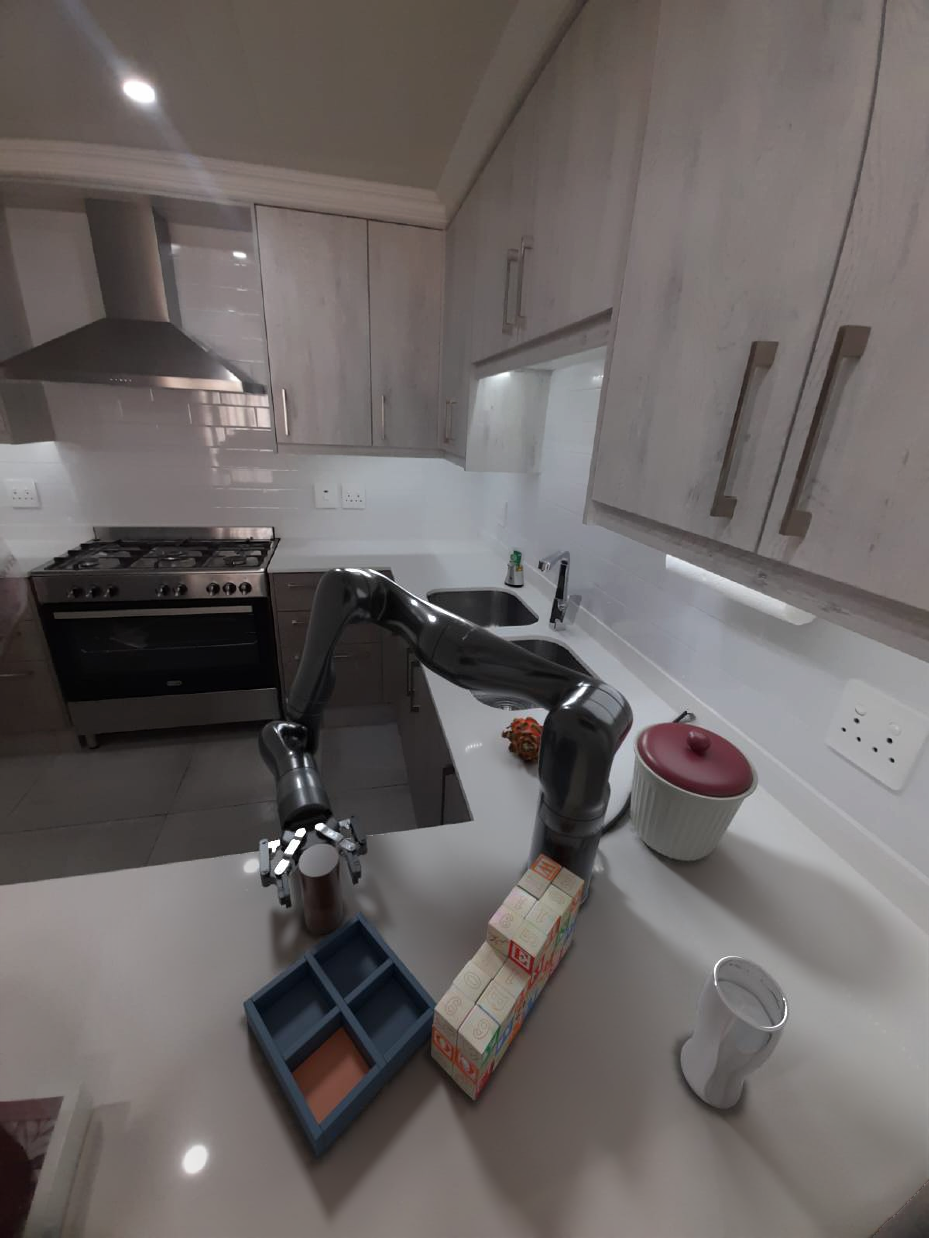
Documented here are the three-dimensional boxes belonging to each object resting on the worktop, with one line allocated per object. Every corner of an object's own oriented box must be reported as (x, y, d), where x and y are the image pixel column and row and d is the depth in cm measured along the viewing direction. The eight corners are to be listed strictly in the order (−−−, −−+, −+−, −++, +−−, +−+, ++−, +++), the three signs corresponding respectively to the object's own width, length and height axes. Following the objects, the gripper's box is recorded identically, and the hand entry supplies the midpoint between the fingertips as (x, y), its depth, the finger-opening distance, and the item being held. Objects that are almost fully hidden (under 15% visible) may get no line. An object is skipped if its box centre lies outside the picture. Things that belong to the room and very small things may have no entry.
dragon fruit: (530, 781, 95) (512, 748, 106) (565, 755, 95) (543, 725, 106) (507, 752, 92) (491, 722, 103) (544, 725, 92) (523, 698, 103)
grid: (361, 928, 65) (360, 910, 64) (438, 1024, 56) (439, 1006, 54) (246, 1020, 55) (242, 1002, 54) (318, 1158, 46) (315, 1140, 44)
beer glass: (752, 1070, 53) (798, 989, 47) (734, 1134, 49) (783, 1052, 43) (688, 1019, 58) (723, 938, 51) (666, 1073, 53) (701, 991, 47)
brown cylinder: (330, 892, 70) (325, 836, 65) (350, 917, 67) (346, 860, 62) (298, 915, 66) (290, 858, 62) (317, 942, 63) (311, 884, 59)
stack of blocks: (475, 1105, 50) (483, 1037, 45) (429, 1056, 53) (432, 989, 48) (571, 942, 65) (586, 879, 60) (531, 913, 69) (541, 851, 64)
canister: (629, 875, 75) (659, 768, 66) (605, 789, 92) (627, 695, 83) (748, 886, 75) (794, 779, 66) (702, 798, 91) (734, 704, 82)
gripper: (251, 798, 72) (260, 891, 58) (347, 773, 78) (376, 852, 64) (257, 835, 75) (267, 932, 62) (349, 808, 81) (377, 891, 67)
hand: (323, 891), depth 63 cm, fingers open, 8 cm apart
